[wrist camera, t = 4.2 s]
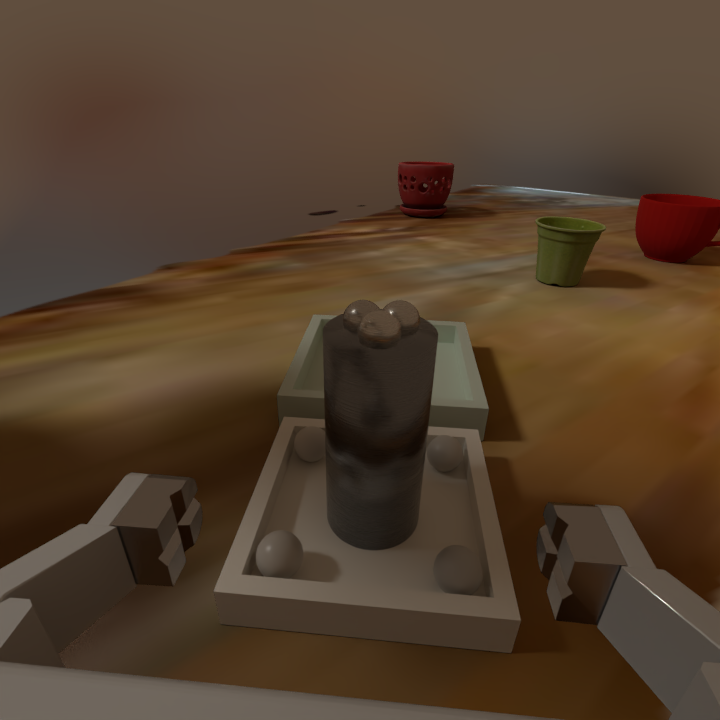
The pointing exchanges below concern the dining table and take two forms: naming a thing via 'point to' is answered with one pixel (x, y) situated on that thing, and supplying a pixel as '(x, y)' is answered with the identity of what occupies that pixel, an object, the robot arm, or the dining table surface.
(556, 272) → the plant pot
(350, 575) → the tray
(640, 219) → the ceramic cup
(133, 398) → the dining table surface
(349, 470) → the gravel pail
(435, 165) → the plant pot
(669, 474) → the dining table surface
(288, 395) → the bin
